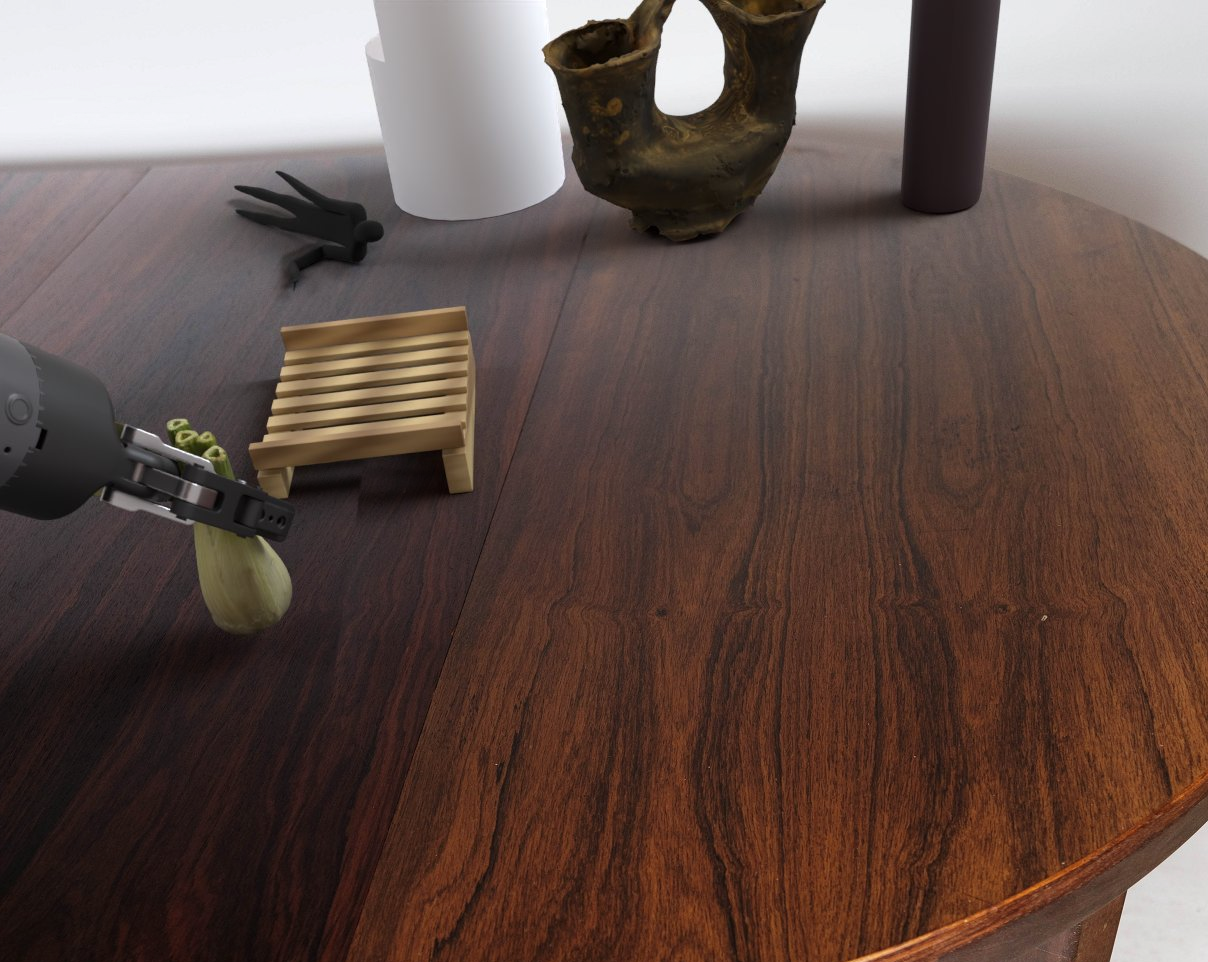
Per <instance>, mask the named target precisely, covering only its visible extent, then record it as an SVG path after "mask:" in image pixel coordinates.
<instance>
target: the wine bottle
mask: <svg viewBox="0 0 1208 962" xmlns="http://www.w3.org/2000/svg"><path fill="white" fill-rule="evenodd" d="M1001 2H1002V0H911V11H910V12H911V13H910V28H909V44H908V45H909V46H908V63H907V78H906V97H905V111H904V112H905V113H904V128H903V129H904V130H903V146H902V148H903V149H902V161H901V162H902V163H901V179H900V196H901V201H902V203H903V204H904V205H905V206H906V207H908V208H910V209H913V210H916V211H919V212H924V213H931V214H933V213H935V214H942V213H943V214H944V213H945V214H946V213H952V212H958V211H961V210H965V209H968V208H971V207H972V206H974V205H976V203H978V201H979V200H980V197H981V194H982V189H983V183H984V182H983V181H984V180H983V179H984V173H985V172H984V171H985V160H986V149H987V141H988V131H989V120H990V113H991V112H990V111H991V103H992V90H993V81H994V72H995V71H994V70H995V64H996V63H995V61H996V54H997V53H996V52H997V41H998V33H999V32H998V31H999V22H1000V12H1001V4H1002V3H1001Z"/></svg>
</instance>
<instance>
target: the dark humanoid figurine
mask: <svg viewBox="0 0 1208 962" xmlns="http://www.w3.org/2000/svg"><path fill="white" fill-rule="evenodd" d="M274 173H275V174H276V175H277V176H279V177H280V178H282V179H283V180H284V181H285V182H286V183H287V184H288V185H289V186H290V187H291V188H292V189H294V190H295V191H296V192H297V193H298V194H299V195H300V196H302V197H303V198H305V199H306V200H304V199H302V198H299V197H296V196H293V195H290V194H286V193H279V192H275V191H272V190H269V189H266V188H264V187H260V186H259V187H258V186H250V185H242V184H238V185H237V184H236V185H234V187H233V188H234V190H236V191H238V192H240V193H243V194H246V195H249V196H251V197H253V198H255V199H258V200H260V201H263V202H265V203H269V204H273V205H275V206H278V207H280V208H282V209H284V210H286V211H288V212H290V213H291V214H293V215H294V217H284V216H283V217H282V216H278V215H274V214H270V213H266V212H258V211H256V212H255V211H252V210H247V209H241V208H240V209H239V208H238V209H234V212H235V214H237V215H239V216H241V217H243V218H246V219H248V220H251V221H253V222H255V223H258V224H263V225H267V226H270V227H275V228H277V229H280V230H282V231H287V232H290V233H291V232H292V233H296V234H302V235H306V236H309V237H313V238H316V239H321V240H323V241H328V242H332V243H335V244H338V245H330V244H322V245H320V246H317V247H315V248H312V249H310V250H309V251H307V252H305V253H303V254H301V255H300V256H297V257H295V258H294V259H292V260H290V261H289V264H288V265H287V273H288V275H289V277H290V281H288V283H289V284H293V288H292V293H294V292H295V291H296V287H297V284H298V283H299V282H300V278H299V277H300V270H301V269H302V268H303V269H304V268H305V267H307V266H309V265H311V264H313V263H316V262H317V261H320V260H322V259H324V258H327V259H333V260H339V261H345V262H349V263H360V262H362V261H363V260H364V259H365V258H366V256H367V253H368V244H370V243H371V244H372V243H376V242H379V241H380V240H382V238H383V237H384V234H385V229H384V225H383V224H382V223H381V222H379V221H377V220H373V219H368V214H367V211H366V208H365V207H364V205H362V204H361V203H359V202H355V201H349V200H342V199H336V198H330V197H329V196H326V195H325V194H322V193H321V192H319V191H317V190H316V189H313V188H312V187H310V186H308V185H307V184H305V183H303V182H302V181H300V180H299V179H298V178H296V177H294V176H292V175H290V174H289V173H286V172H284V171H281V170H275V172H274ZM307 200H308V201H307ZM339 245H340V246H339Z"/></svg>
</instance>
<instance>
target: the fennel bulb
mask: <svg viewBox="0 0 1208 962" xmlns="http://www.w3.org/2000/svg"><path fill="white" fill-rule="evenodd" d="M165 430H166V433H167V436H168V439H169V442H170V444H171V447H174V448H177V449H179V450H182V451H185V452H188V453H190V454H193V455H196V456H198V457H201V458H204V459H206V460H209V461H210V462H211V463H212V464H213V466H214V471H215V473H216V474H218V475H221V476H223V477H226V478H229V479H232V480H234V481H236V478H235V475H234V471H233V468H232V464H231V462H230V459H229V456H228V454H227V452H226V450H224V448H223V447H220V445H218V443H217V439H216V436H215V435H214V434H213V433H212V432H211V431H208V430H206V431H204V432H203V433H202V434H200V435H199V434H198V432H197V431H195V430H192V426H191V425H190V423H189V420H188V419H187V418H173V419H171V420H169V421H168V422H167V423H166V428H165ZM176 461H178V464H179V468H180V471H181V475H182V472H183V469H184V466H185V463H184V462H183V461H180V460H177V459H176ZM192 526H193V536H194V537H193V539H194V546H195V557H196V565H197V572H198V579H199V585H200V589H201V593H202V596H203V600H204V603H205V605H206V607H207V608H208V609H207V610H208V611H209V612H210V615H211V617H212V621H213V622H214V624H215V625H216V626H217V627H218V628H220V629H221V630H223V631H225V632H226V633H229V634H233V635H237V636H238V635H239V636H240V635H242V636H246V635H253V634H254V633H257V632H259V631H265V630H268V629H271V628H272V627H275V626H276V624H278V623H280V621H281V620H282V618H283V616H284V615H285V614H286V613H287V611H288V609H289V607H290V605H291V601H292V598H293V585H292V579H291V576H290V573H289V571H288V569H287V567H286V565H285V564H284V562H283V560H282V559H281V557H279V555H278V553H277V552H276V551H275V550H274V549H273V548H272V547H271V545H270V544H269V543H268V542H267V541H266V540H265V539H264V537H261V536H258V535H254V538H249V537H246V539H244V538H241V537H238V536H236V533H233V532H228V531H225V530H223V529H219V528H216V527H213V526H209V525H206V524H203V523H200V522H195V523H194V524H192Z"/></svg>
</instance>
